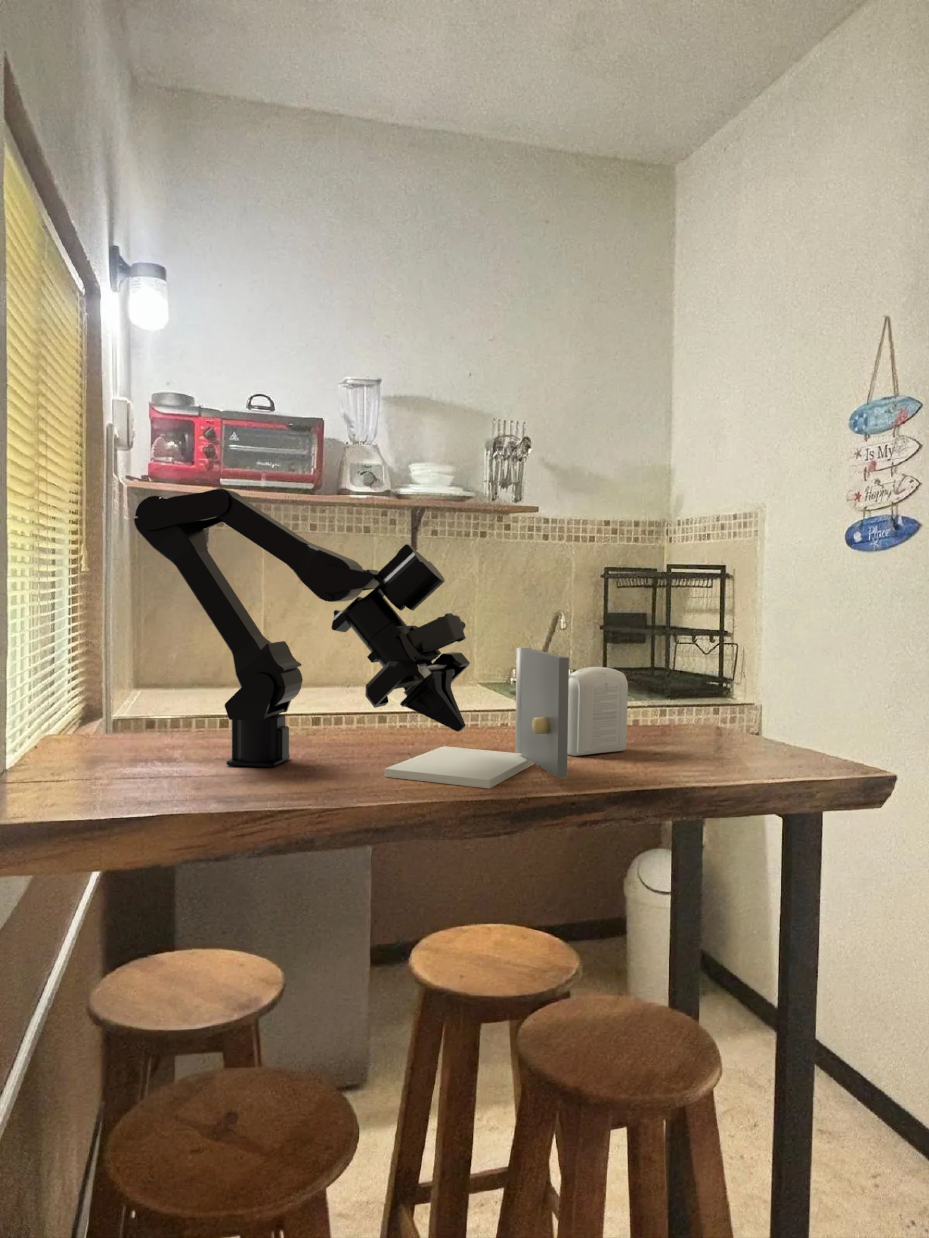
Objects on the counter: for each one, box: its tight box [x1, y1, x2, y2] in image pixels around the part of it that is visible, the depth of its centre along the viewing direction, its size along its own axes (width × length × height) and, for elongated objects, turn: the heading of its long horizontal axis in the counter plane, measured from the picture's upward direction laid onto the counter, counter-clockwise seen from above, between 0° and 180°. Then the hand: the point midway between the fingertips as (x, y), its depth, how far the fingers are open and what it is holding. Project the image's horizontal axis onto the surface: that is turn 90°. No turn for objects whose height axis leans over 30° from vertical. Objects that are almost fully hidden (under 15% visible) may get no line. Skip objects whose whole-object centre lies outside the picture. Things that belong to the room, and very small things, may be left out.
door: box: [514, 647, 570, 779], centre depth 107 cm, size 3×17×14 cm, turn 13°
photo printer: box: [567, 666, 629, 757], centre depth 123 cm, size 10×4×12 cm, turn 123°
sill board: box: [384, 745, 536, 789], centre depth 110 cm, size 14×17×1 cm
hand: (461, 729), depth 105 cm, fingers closed
